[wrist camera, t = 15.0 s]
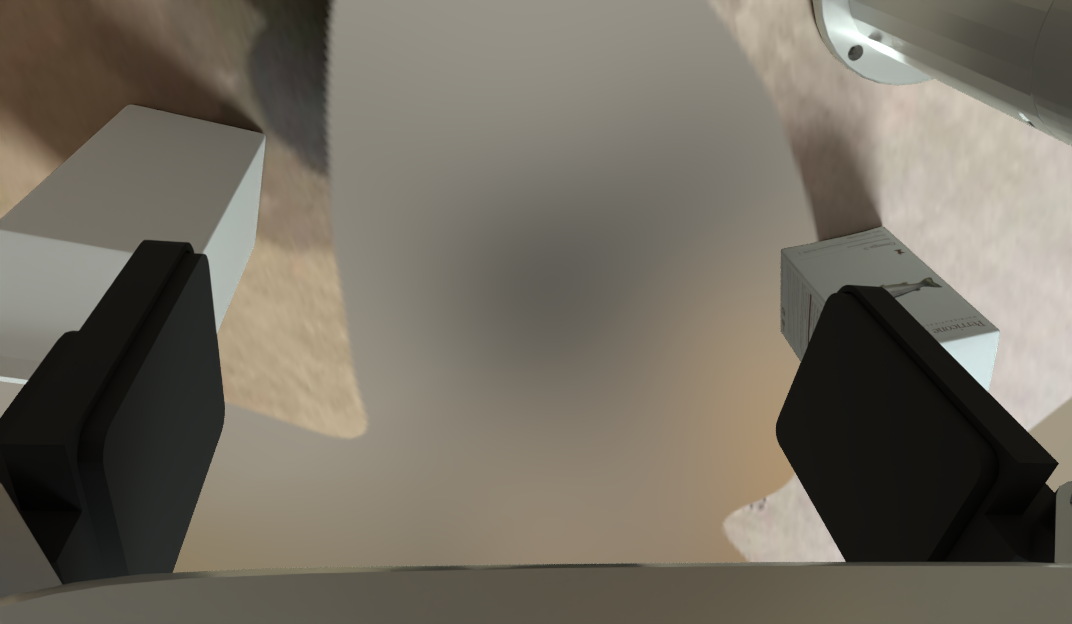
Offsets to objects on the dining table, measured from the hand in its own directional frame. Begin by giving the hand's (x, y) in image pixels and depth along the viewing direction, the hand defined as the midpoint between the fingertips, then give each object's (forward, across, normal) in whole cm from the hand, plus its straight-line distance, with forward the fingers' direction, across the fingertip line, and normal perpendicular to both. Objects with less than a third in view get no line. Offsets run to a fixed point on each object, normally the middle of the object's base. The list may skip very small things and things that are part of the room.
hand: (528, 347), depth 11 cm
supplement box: (+33, -27, +16) cm, 45 cm away
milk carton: (+32, +14, +12) cm, 37 cm away
